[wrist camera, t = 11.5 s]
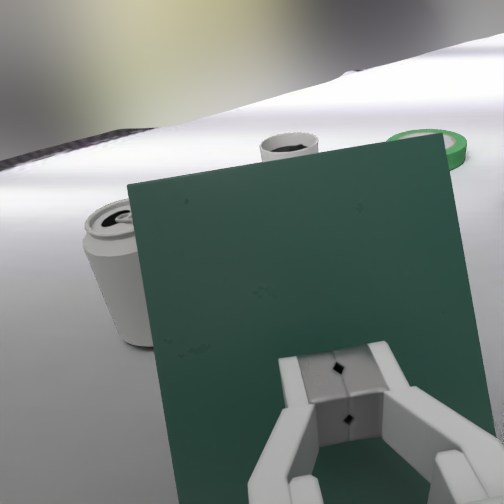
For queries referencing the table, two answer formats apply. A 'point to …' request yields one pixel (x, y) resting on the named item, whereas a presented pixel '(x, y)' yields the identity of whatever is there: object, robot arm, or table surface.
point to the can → (118, 270)
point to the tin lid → (304, 304)
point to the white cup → (288, 146)
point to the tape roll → (453, 144)
